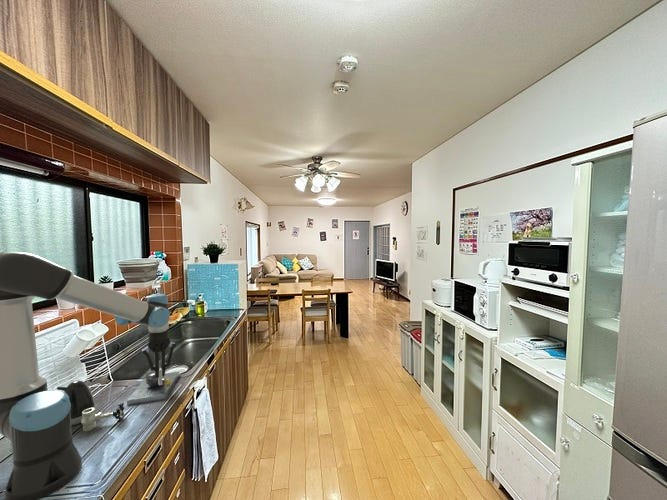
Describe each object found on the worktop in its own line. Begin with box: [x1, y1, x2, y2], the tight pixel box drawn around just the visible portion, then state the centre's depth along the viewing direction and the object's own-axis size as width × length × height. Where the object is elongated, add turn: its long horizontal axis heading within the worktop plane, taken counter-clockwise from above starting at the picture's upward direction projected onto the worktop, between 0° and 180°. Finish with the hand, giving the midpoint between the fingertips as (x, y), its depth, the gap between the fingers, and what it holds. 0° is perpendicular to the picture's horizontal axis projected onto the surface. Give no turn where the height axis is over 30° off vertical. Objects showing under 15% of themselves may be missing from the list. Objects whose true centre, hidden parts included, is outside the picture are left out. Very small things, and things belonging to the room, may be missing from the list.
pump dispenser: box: [56, 380, 96, 426], centre depth 107 cm, size 10×10×15 cm
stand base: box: [126, 368, 180, 406], centre depth 129 cm, size 22×14×6 cm, turn 15°
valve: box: [80, 402, 125, 432], centre depth 104 cm, size 7×7×12 cm
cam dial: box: [145, 370, 172, 388], centre depth 127 cm, size 16×7×5 cm, turn 61°
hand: (160, 384), depth 124 cm, fingers closed
